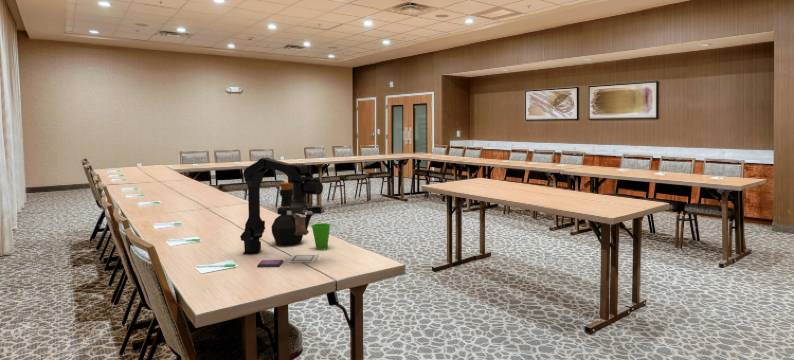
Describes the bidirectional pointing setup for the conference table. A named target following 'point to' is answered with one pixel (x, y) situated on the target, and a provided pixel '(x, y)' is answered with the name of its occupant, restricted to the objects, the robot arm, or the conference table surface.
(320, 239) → the cup
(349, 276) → the conference table surface
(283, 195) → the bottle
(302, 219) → the stamp
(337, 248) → the conference table surface
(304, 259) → the frame
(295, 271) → the conference table surface
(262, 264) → the ink pad
